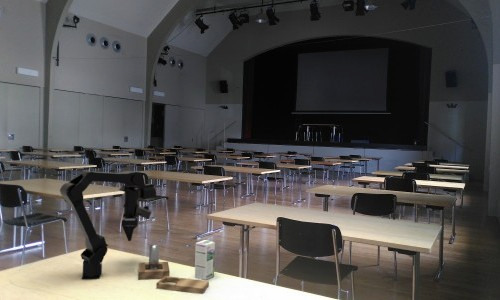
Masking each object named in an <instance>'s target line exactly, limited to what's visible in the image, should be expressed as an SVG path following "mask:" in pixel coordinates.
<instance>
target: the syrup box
mask: <svg viewBox="0 0 500 300" xmlns="http://www.w3.org/2000/svg"><path fill="white" fill-rule="evenodd" d="M215 249H216V242H215V241H214V240H208V239H203V240H201V241H197V242H195V252H194V254H195V255H194V256H195V257H194V259H195V260H194V262H195V263H194V278H197V279H198V280H204V281H208V279H211V278H213V277H215V256H216V255H215V252H216V251H215Z"/></svg>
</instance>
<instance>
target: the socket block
mask: <svg viewBox="0 0 500 300" xmlns="http://www.w3.org/2000/svg"><path fill="white" fill-rule="evenodd" d="M170 273H171V272H170V265H169V261H159V269H155V270H149V261H147V262H138V274H137V275H138V277H137V278H138V280H140V281H141V280H142V281H143V280H144V281H145V280H161V279H162V278H163V277H164V276H169V277H170Z"/></svg>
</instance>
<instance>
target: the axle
mask: <svg viewBox="0 0 500 300" xmlns="http://www.w3.org/2000/svg"><path fill="white" fill-rule="evenodd" d="M148 262H149V270H155V269H159V262H160V244H159V243H150V244H149V246H148Z"/></svg>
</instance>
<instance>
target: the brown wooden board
mask: <svg viewBox="0 0 500 300" xmlns="http://www.w3.org/2000/svg"><path fill="white" fill-rule="evenodd" d="M209 286H210V282H209V280H203V279H194V278H186V277H184V278H183V277H178V276H170V275H169V276H164V277H163V278H162V279H158V281H157V282H156V285H155V287H156V288H155V289H158V290H167V291H175V292H185V293H191V294H192V293H193V294H199V295H200V294H201V295H203V294H204V293H205V292H206V291H207V289H208V288H209Z"/></svg>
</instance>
